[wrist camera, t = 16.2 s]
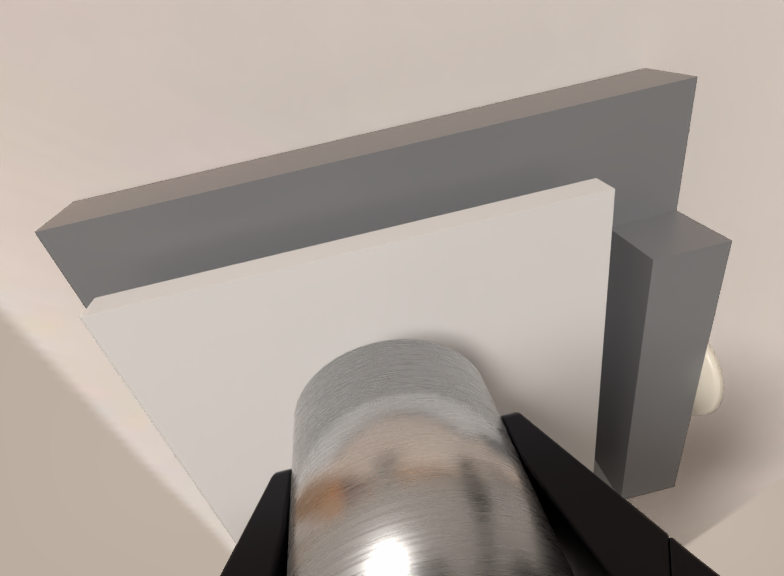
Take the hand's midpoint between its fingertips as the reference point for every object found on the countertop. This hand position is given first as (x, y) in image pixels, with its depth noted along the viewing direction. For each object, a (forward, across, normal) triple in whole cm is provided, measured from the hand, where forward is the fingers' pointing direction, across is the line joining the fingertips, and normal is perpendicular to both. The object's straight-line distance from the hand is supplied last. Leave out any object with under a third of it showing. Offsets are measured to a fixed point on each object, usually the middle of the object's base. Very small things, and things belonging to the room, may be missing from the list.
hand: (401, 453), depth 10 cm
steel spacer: (+1, 0, 0) cm, 1 cm away
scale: (+6, -1, +4) cm, 7 cm away
